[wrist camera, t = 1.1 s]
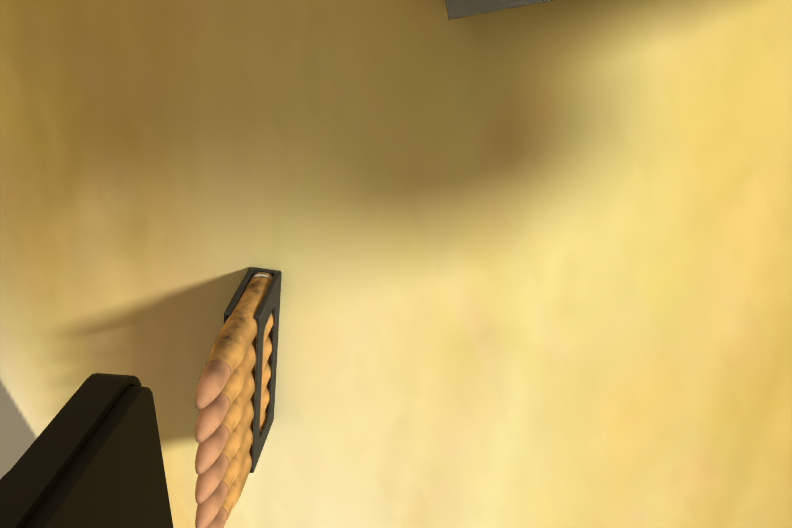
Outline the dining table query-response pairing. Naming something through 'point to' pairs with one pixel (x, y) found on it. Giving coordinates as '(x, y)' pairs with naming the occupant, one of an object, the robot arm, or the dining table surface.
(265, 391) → the ammunition clip
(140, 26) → the dining table surface
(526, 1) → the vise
